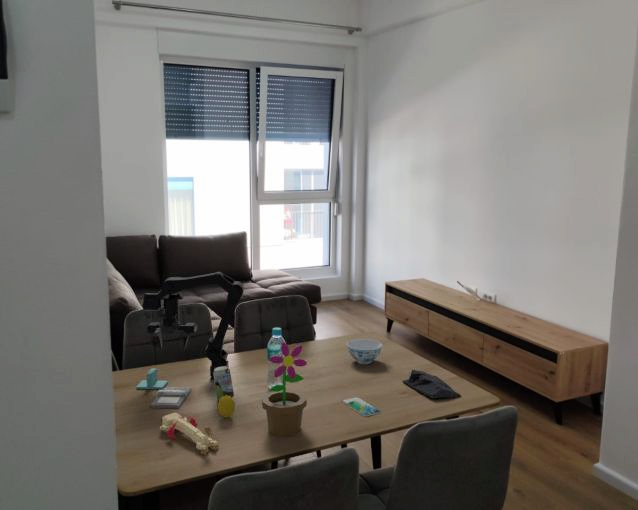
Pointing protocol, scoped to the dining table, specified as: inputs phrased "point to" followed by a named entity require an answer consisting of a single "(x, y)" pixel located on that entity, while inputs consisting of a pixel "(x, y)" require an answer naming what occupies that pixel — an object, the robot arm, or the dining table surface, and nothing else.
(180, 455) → the dining table surface
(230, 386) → the beverage can
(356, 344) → the chinaware
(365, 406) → the smartphone
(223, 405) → the lemon
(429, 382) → the dark grey cloth
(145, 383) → the stub
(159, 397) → the plate
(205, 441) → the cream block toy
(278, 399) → the flowerpot
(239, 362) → the dining table surface
